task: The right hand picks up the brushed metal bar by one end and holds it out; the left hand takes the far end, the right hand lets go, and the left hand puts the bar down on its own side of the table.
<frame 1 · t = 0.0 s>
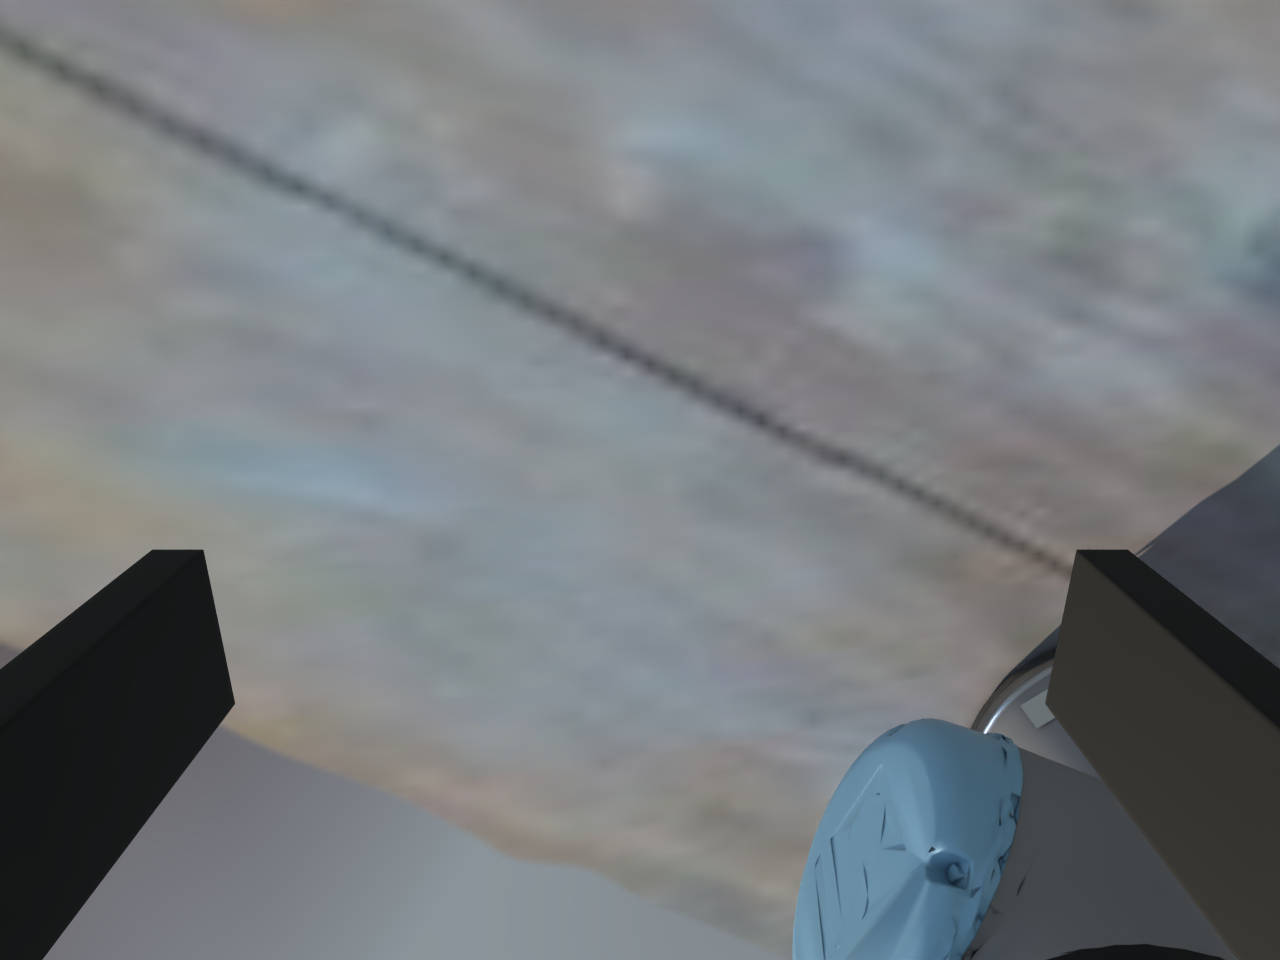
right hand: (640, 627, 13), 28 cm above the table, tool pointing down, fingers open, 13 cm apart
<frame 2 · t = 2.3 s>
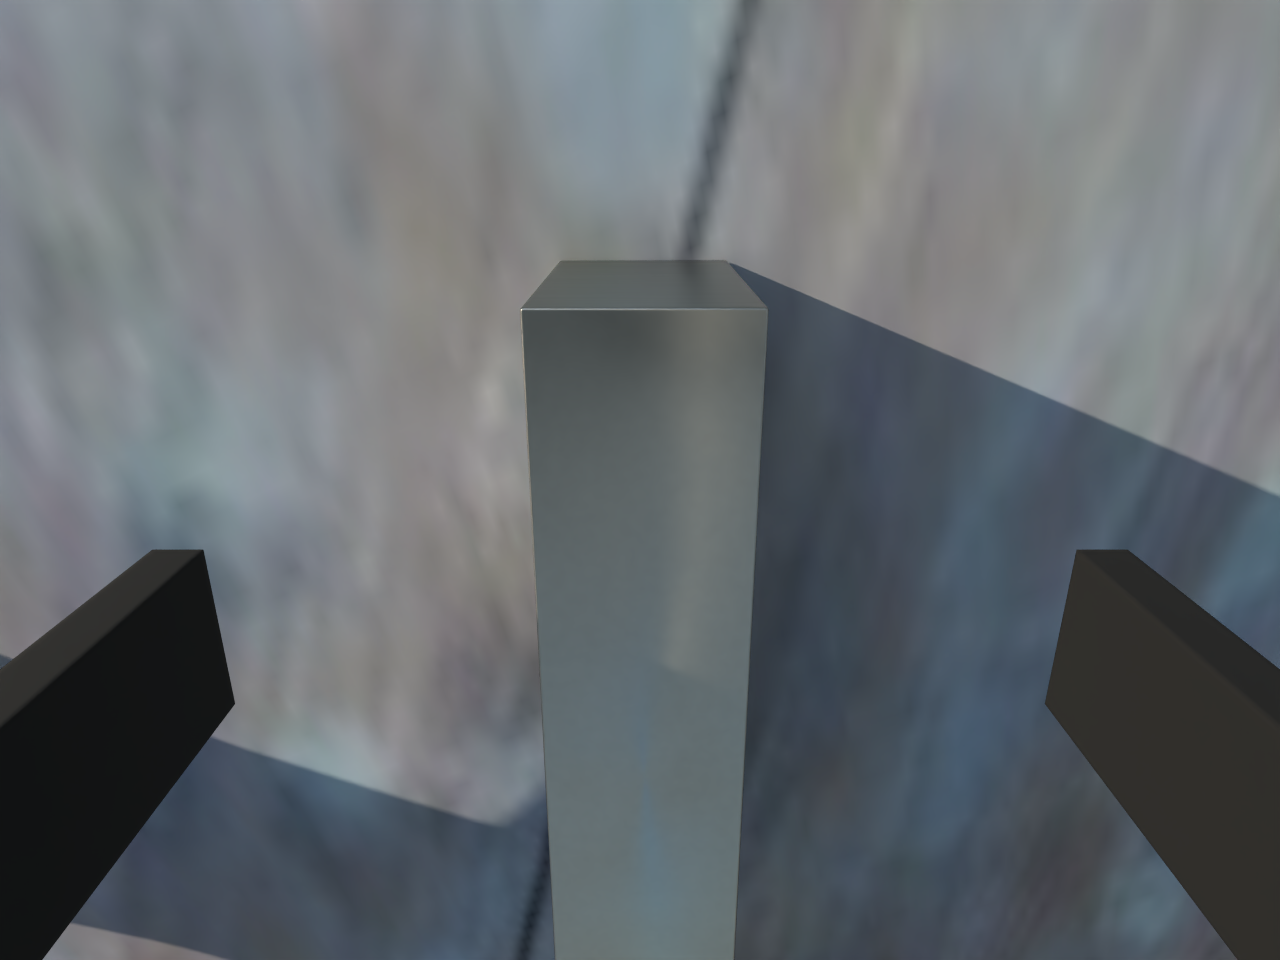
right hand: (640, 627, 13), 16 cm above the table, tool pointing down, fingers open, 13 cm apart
bar: (643, 603, 30), on the table
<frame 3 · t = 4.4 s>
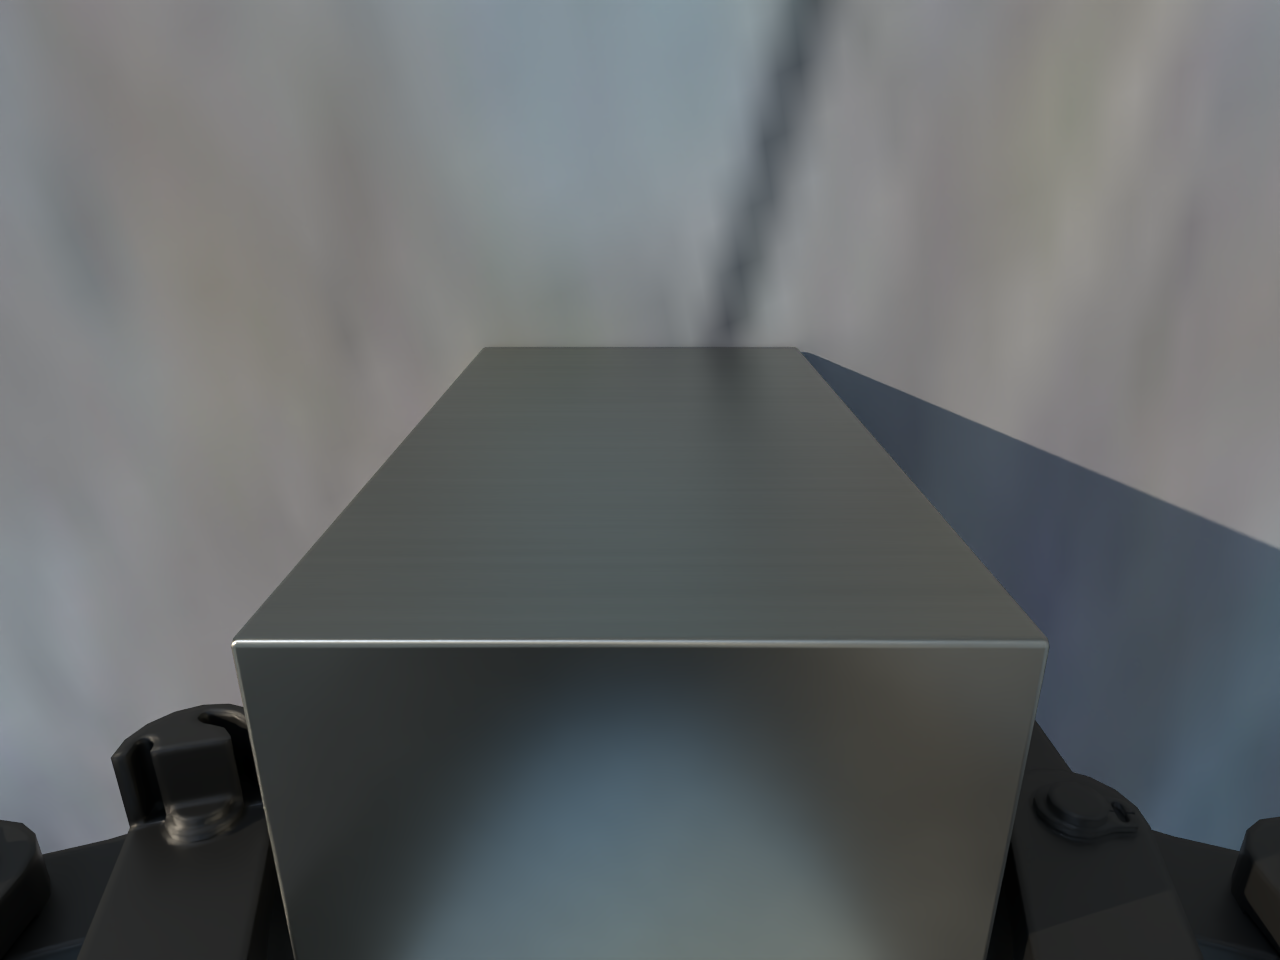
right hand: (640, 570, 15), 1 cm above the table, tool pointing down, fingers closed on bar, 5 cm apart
bar: (640, 900, 18), on the table, touching right hand
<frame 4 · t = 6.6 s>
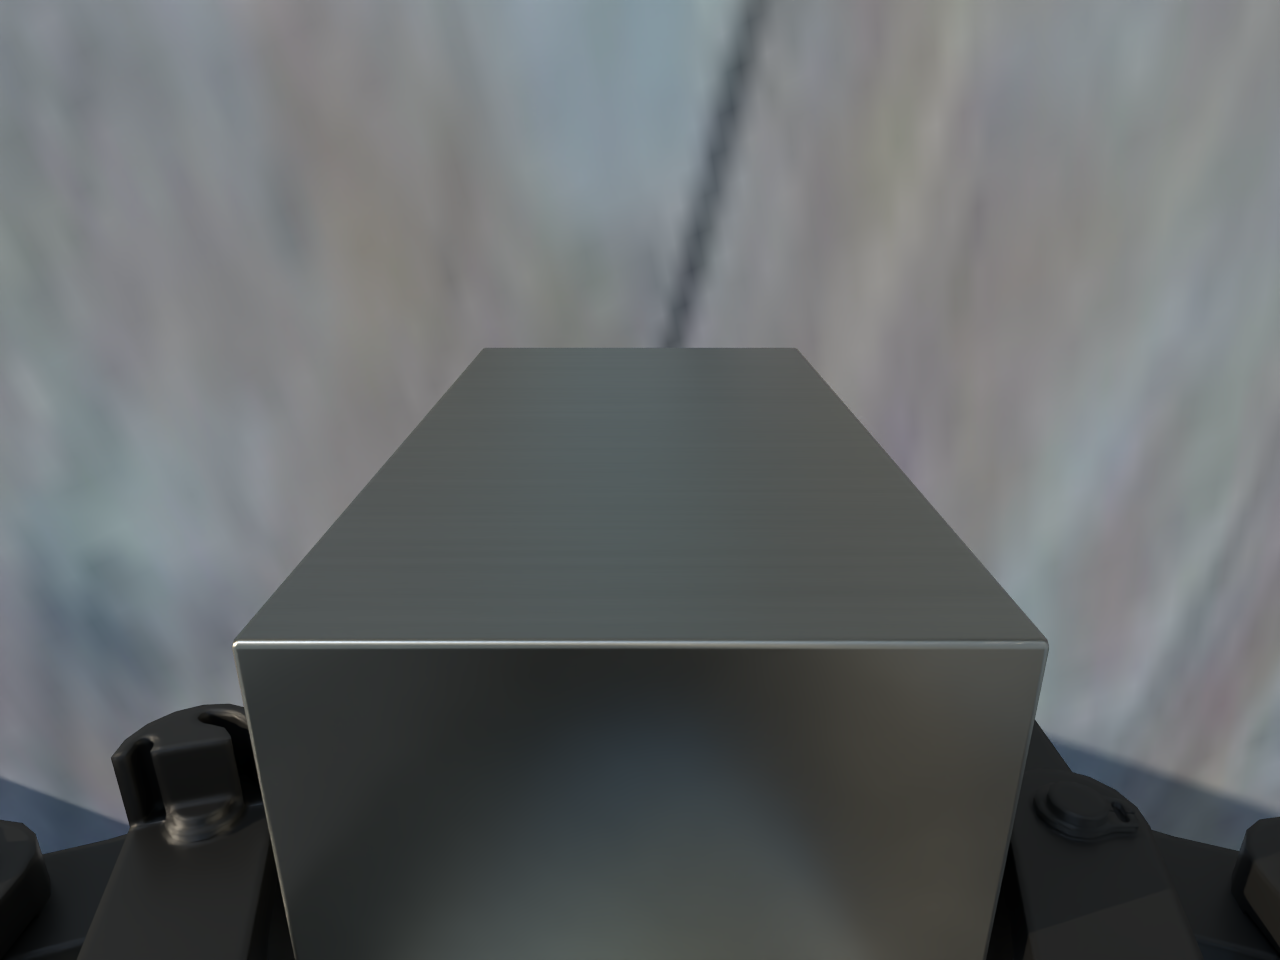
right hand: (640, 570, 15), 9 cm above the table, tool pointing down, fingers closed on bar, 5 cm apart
bar: (640, 900, 18), point 8 cm above the table, touching right hand
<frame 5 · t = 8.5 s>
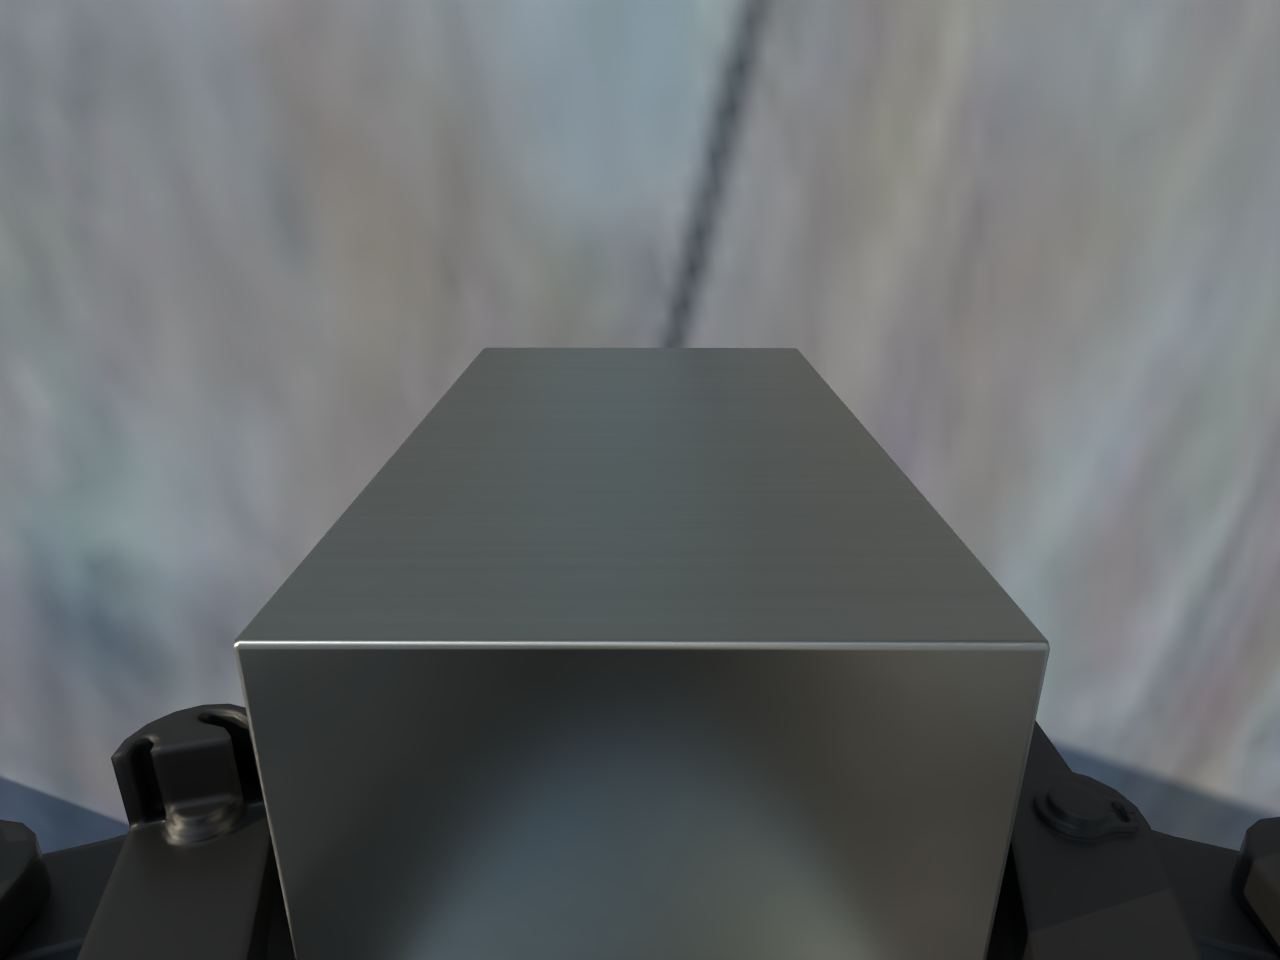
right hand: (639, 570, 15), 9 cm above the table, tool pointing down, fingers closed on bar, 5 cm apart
bar: (639, 900, 18), point 8 cm above the table, touching right hand, left hand
when the right hand's fingers open (9 cm above the table, at t = 9.1 s): bar stays where it is, held by the left hand.
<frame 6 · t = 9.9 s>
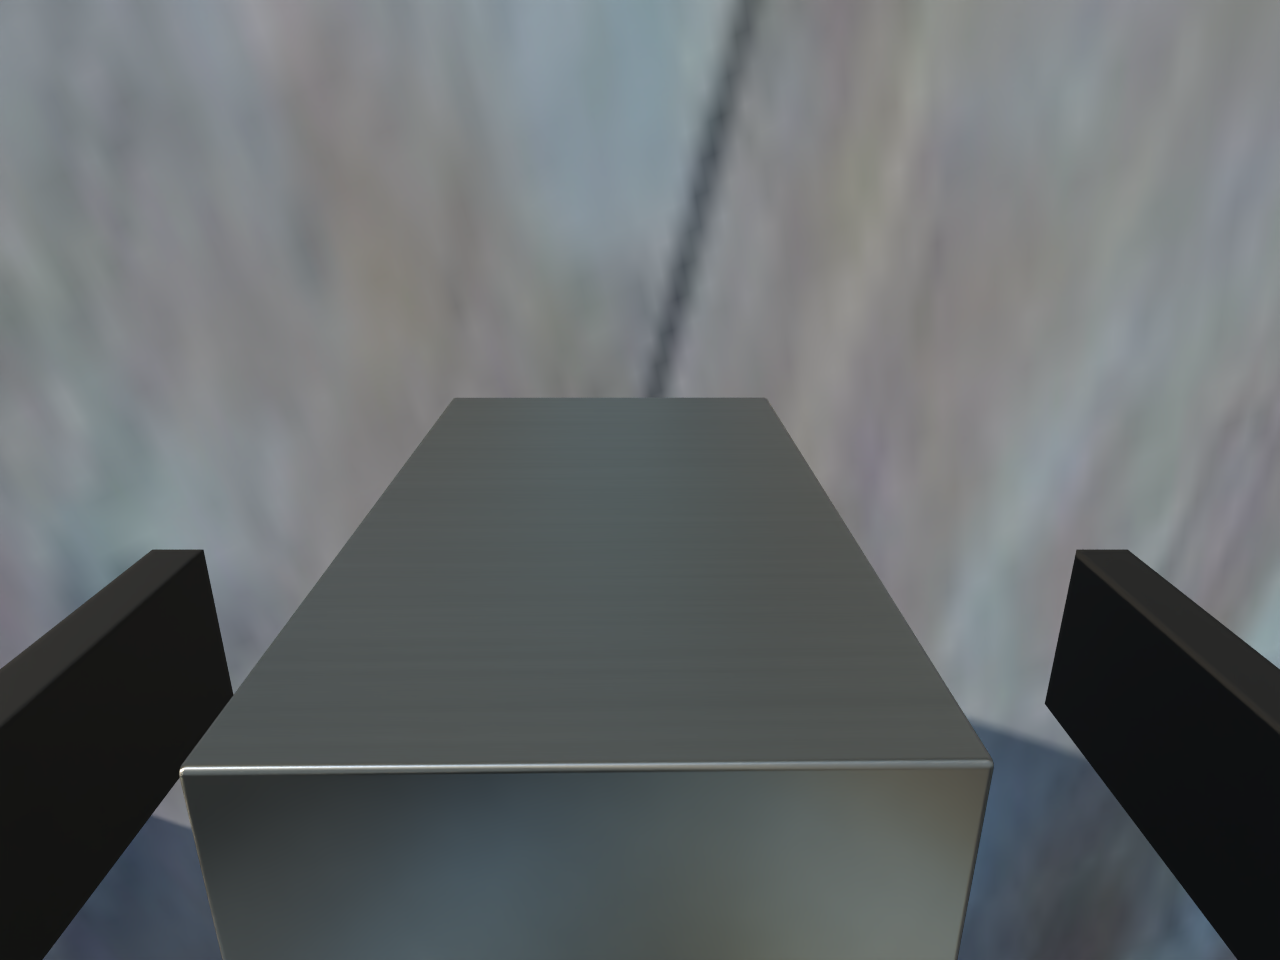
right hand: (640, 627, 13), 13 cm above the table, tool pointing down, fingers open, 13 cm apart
bar: (615, 939, 18), point 10 cm above the table, touching left hand
when the left hand's fingers open (2 cm above the table, at t = 13.6 s): bar stays where it is, on the table.
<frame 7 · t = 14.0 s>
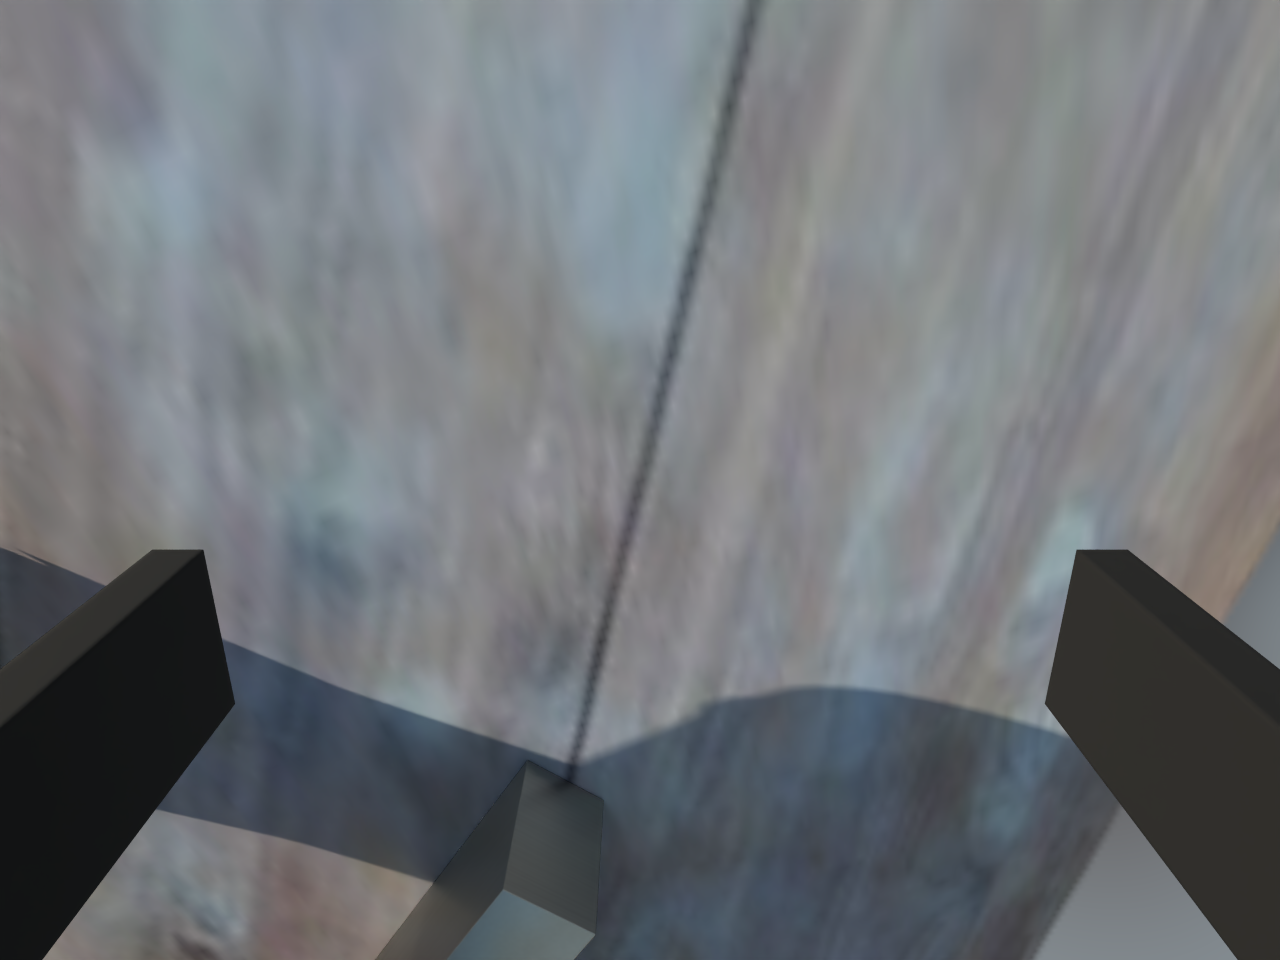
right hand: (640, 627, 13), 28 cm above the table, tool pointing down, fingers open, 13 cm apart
bar: (462, 910, 52), on the table
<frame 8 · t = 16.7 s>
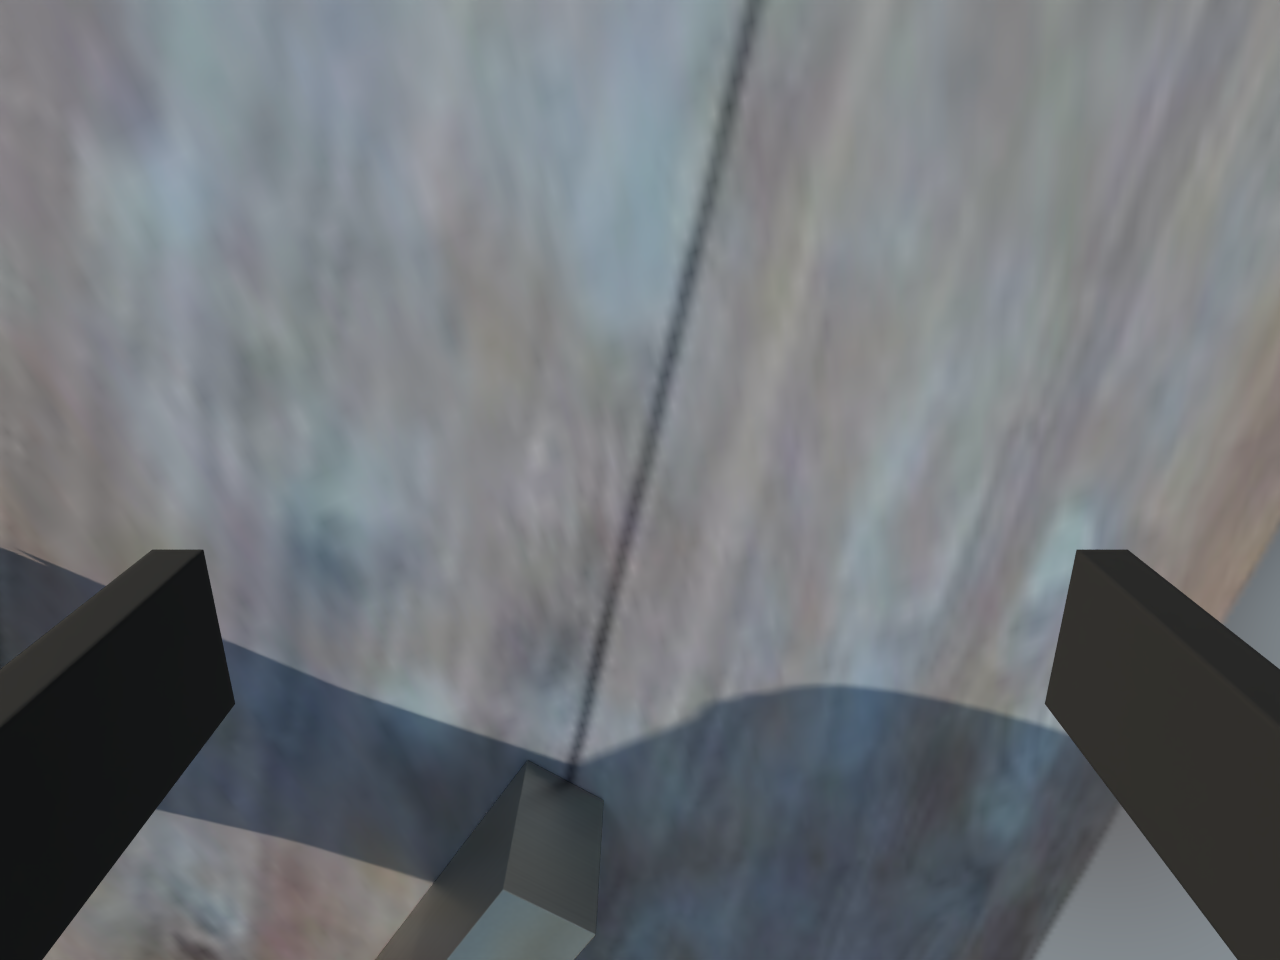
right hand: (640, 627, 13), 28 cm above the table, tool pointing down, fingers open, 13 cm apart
bar: (462, 910, 52), on the table
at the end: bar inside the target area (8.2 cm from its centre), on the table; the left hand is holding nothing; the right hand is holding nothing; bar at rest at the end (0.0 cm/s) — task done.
